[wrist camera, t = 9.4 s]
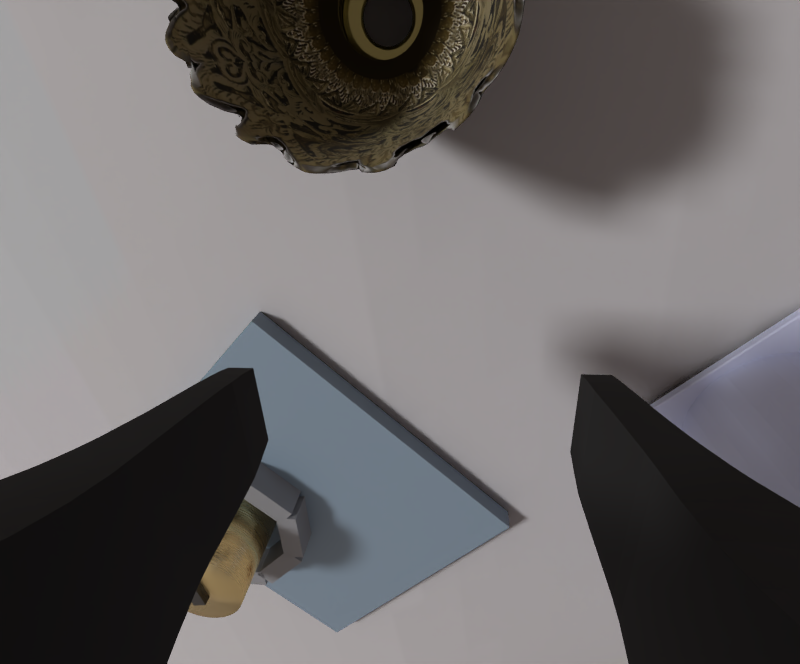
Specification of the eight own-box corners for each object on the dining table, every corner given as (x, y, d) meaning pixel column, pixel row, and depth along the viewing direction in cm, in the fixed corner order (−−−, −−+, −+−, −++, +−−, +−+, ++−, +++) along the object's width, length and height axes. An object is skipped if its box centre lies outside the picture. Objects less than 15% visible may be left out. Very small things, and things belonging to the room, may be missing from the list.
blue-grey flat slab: (507, 511, 25) (512, 552, 23) (340, 616, 31) (331, 657, 29) (260, 311, 21) (237, 337, 19) (122, 472, 27) (92, 506, 25)
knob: (287, 535, 26) (251, 624, 22) (222, 540, 27) (175, 627, 23) (260, 481, 25) (216, 565, 20) (192, 487, 26) (136, 570, 21)
